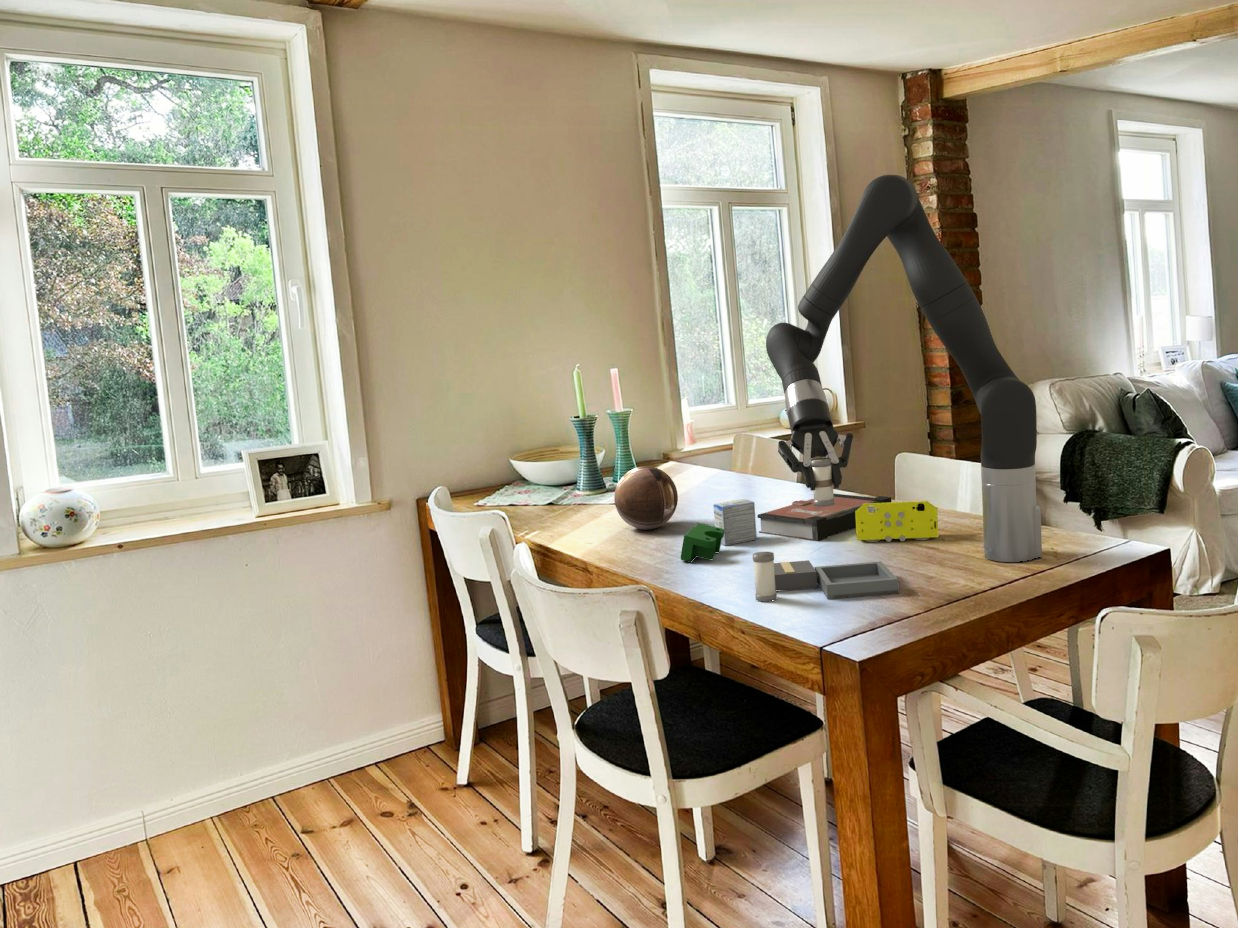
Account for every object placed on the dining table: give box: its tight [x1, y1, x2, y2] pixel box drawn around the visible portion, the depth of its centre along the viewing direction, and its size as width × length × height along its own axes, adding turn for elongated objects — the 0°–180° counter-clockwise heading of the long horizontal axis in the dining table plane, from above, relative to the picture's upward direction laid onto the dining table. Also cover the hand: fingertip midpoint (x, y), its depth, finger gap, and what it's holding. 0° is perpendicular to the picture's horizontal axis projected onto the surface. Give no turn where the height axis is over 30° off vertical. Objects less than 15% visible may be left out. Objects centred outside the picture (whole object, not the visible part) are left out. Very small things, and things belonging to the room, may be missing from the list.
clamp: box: [680, 522, 725, 563], centre depth 203 cm, size 12×6×9 cm
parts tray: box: [813, 561, 900, 600], centre depth 173 cm, size 12×12×2 cm
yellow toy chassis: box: [855, 500, 939, 543], centre depth 203 cm, size 16×6×8 cm, turn 78°
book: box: [757, 493, 892, 542], centre depth 222 cm, size 26×18×5 cm
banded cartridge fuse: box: [810, 457, 835, 507], centre depth 172 cm, size 4×4×8 cm
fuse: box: [752, 551, 778, 602], centre depth 170 cm, size 4×4×8 cm
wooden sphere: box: [613, 465, 679, 531], centre depth 233 cm, size 15×15×15 cm
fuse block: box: [774, 559, 818, 591], centre depth 178 cm, size 9×8×3 cm
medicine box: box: [713, 498, 758, 547], centre depth 213 cm, size 8×4×9 cm, turn 111°
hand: (825, 486), depth 170 cm, fingers closed on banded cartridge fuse, 3 cm apart
